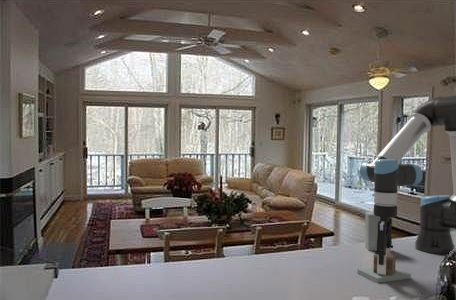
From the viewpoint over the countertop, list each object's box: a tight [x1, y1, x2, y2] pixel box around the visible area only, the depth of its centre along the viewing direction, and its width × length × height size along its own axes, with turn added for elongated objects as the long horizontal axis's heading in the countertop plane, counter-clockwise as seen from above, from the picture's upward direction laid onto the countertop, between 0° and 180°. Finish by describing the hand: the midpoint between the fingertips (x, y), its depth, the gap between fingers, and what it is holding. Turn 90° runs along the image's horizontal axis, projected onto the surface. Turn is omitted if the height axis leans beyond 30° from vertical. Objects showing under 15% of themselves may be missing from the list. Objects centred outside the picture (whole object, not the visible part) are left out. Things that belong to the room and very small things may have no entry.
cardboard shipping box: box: [373, 252, 397, 276], centre depth 143 cm, size 6×6×6 cm
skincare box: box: [364, 211, 382, 252], centre depth 178 cm, size 8×7×16 cm
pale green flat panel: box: [356, 266, 412, 284], centre depth 144 cm, size 14×10×6 cm
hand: (383, 270), depth 144 cm, fingers open, 9 cm apart
